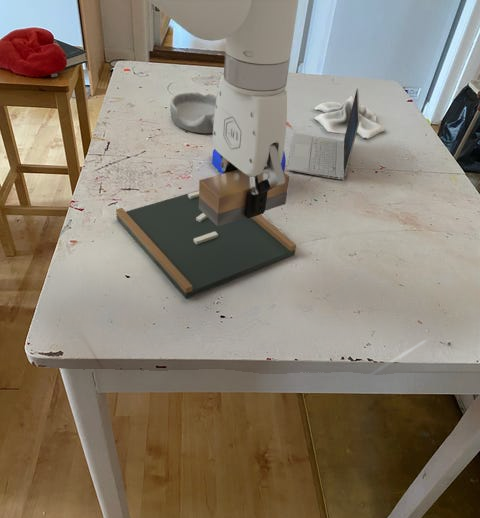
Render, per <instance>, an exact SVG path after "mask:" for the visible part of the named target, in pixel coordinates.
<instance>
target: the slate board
mask: <svg viewBox="0 0 480 518" xmlns="http://www.w3.org/2000/svg"><path fill="white" fill-rule="evenodd" d="M197 191H199V189H197V190H195V191H192V192H188V193H185V194H182V195H181V194H180V195H178V196H175V197H172V198H171V197H170V198H168V199H164V200H161V201H158V202H157V201H156V202H154V203H151V204H147V205H144V206H140V207H137V208H133V209H130V210H127V211H126V210H125V209H124V208H122V207H120V208H116V209H115V214H116V220H117V221H118V223H120V225H121V226H122V227H123V228H124V229H125V230H126V232H127V233H128V234H129V235H130V236H131V237H132V238H133V240H134V242H136V243H137V244H138V246H139V247H140V249H142V250H143V251H144V253H145V254H146V255H147V256H148V257H149V258H150V259H151V261H152V262H153V263H154V264H155V265H156V267H157V268H158V269H159V270H160V271H161V272H162V273H163V274H164V275H165V277H166V278H167V279H168V280H169V282H170V283H171V284H172V285H173V286H174V287H175V289H177V291H178V292H179V293H180V294H181V295H182V297H183V298H184V299H186V300H187V299H189V298H191V297H194V296H196V295H199V294H202V293H204V292H207V291H209V290H211V289H214V288H216V287H219V286H222V285H224V284H226V283H229V282H231V281H235V280H236V279H238V278H241V277H243V276H246V275H248V274H251V273H253V272H257V271H259V270H261V269H263V268H265V267H268V266H270V265H273V264H275V263H278V262H280V261H282V260H285V259H287V258H290V257H292V256H295V253H296V249H297V244H296V243H295V242H294V241H293V240H291V238H289V237H288V236H287V235H286V234H284V233H283V232H282V231H281V230H280V229H278V228H277V227H276V226H275V225H274V224H272V223H271V222H270V221H269V220H267V218H265V217H264V216H263V215H262V214H260V215H257V216H254V217H251V218H247V217H245V218H242V219H239V220H236V221H233V222H230V223H227V224H224V225H221V226H217V225H215V224H214V223H213V222H212V221H211V220H210V219H209V218H208V217H207V218H206V219H204V220H203V221H201V222H199V221H197V220H196V217H198V216H199V215H201V214H202V213H203V212H202V211H201V210H200V209H199V197H196V198H192V199H190V198H189V197H188V194H190V193H193V192H197ZM212 232H216V233H217V234H218V237H216V238H213V239H211V240H208V241H205V242H202V243H199V244H196V243H195V242H194V238H197V237H200V236H203V235H206V234H209V233H212Z"/></svg>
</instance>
